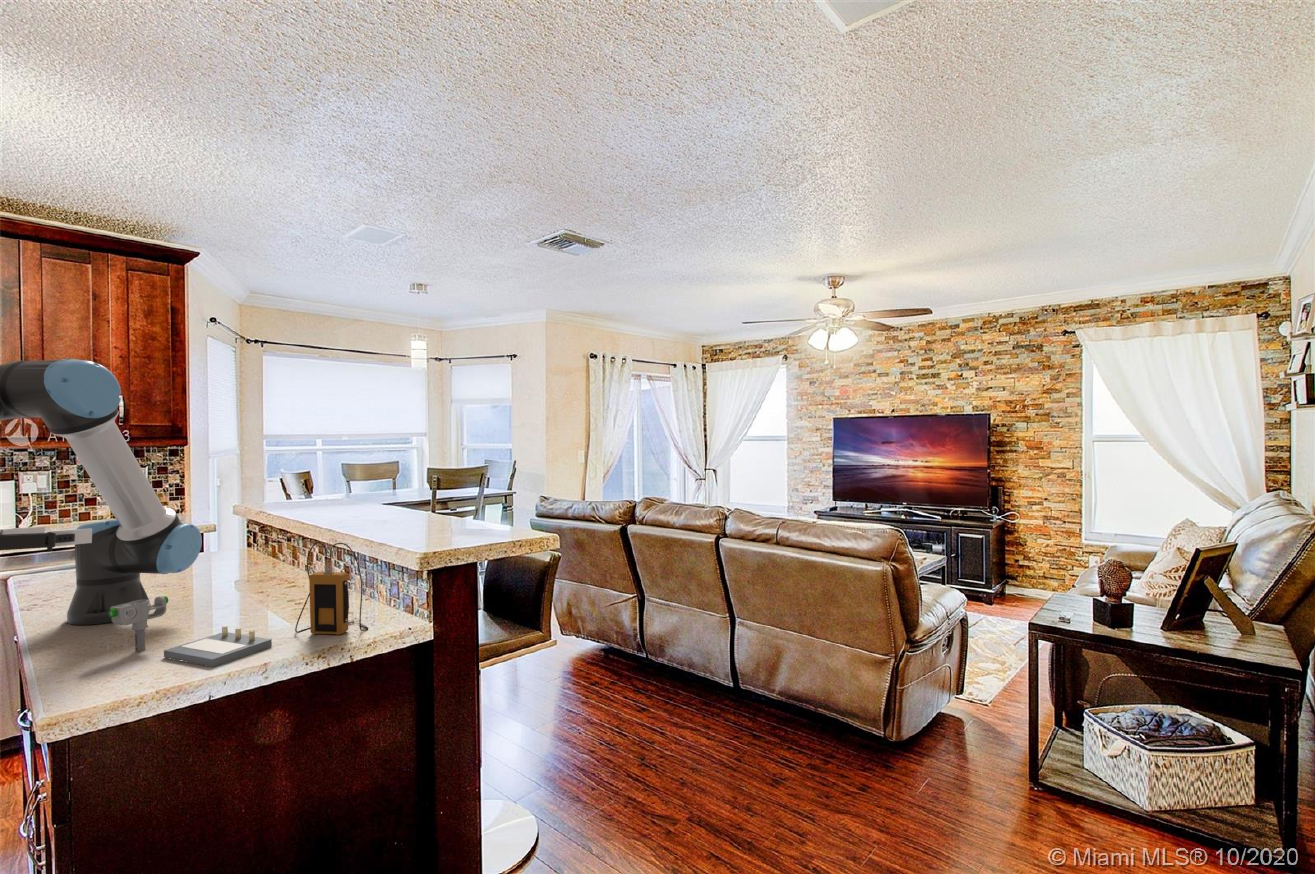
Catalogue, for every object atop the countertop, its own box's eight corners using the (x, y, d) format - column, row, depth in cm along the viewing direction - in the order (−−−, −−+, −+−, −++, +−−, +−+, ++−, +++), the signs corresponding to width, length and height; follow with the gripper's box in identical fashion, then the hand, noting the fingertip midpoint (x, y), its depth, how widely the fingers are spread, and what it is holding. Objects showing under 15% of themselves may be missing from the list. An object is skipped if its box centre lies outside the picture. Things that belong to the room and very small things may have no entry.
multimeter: (382, 621, 148) (380, 535, 148) (357, 636, 138) (356, 543, 138) (321, 620, 150) (320, 534, 149) (293, 634, 140) (291, 542, 139)
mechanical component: (171, 643, 134) (170, 595, 134) (116, 660, 125) (115, 608, 125) (161, 641, 135) (160, 594, 135) (106, 658, 126) (105, 607, 126)
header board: (163, 657, 126) (163, 640, 126) (224, 638, 137) (224, 622, 137) (212, 667, 121) (212, 648, 121) (271, 646, 132) (271, 629, 132)
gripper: (-134, 566, 108) (23, 551, 128) (-42, 573, 100) (110, 556, 121) (-131, 521, 108) (25, 513, 129) (-39, 525, 101) (112, 516, 121)
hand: (66, 534), depth 125 cm, fingers open, 13 cm apart
